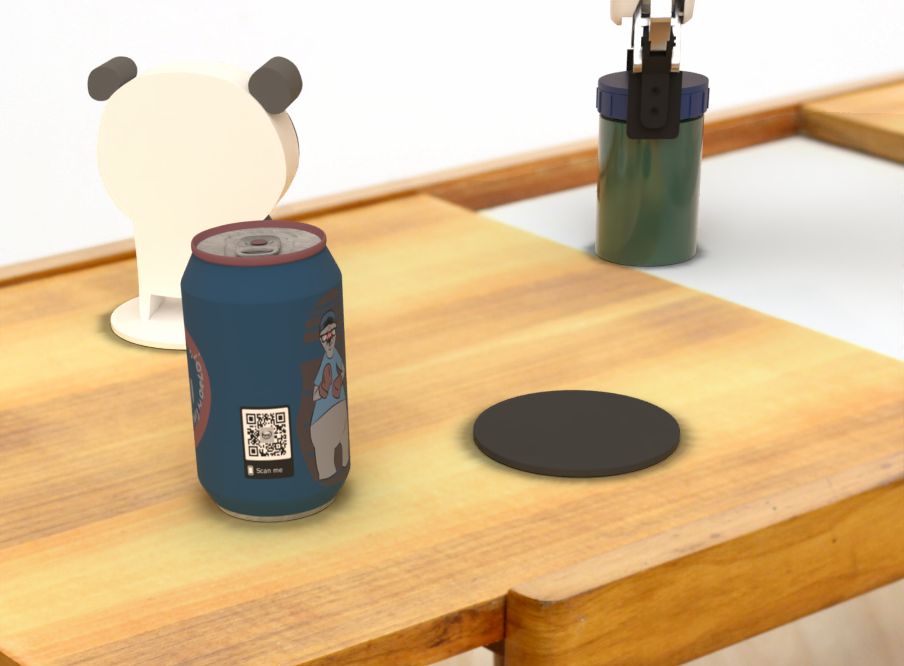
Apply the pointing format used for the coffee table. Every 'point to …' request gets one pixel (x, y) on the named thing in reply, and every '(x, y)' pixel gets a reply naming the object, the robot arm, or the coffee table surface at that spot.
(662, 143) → the jar
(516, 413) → the coaster
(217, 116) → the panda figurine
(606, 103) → the jar lid
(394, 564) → the coffee table surface
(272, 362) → the soda can
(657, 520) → the coffee table surface
